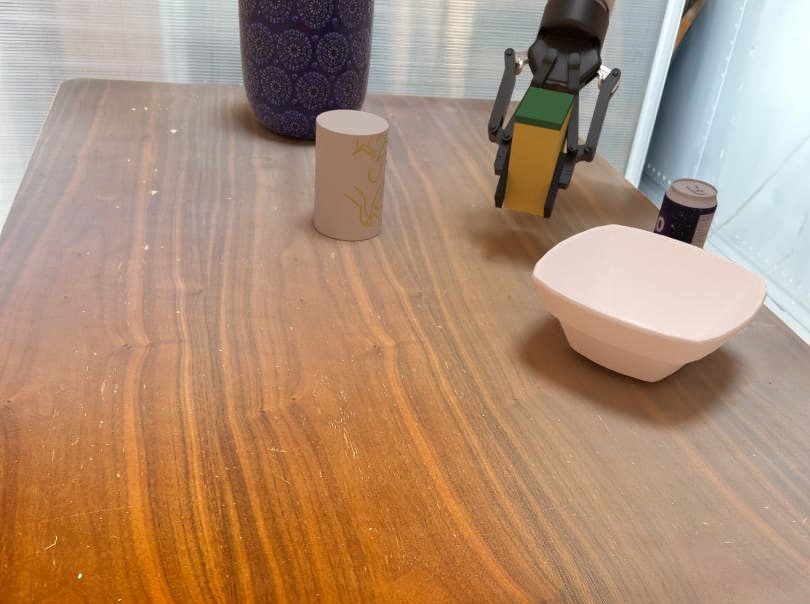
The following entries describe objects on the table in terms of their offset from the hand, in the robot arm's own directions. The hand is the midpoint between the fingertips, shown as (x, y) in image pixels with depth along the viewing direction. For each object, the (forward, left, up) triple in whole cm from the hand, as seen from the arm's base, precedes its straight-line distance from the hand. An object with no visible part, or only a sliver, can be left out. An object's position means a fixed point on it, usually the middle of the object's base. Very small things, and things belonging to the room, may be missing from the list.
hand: (522, 207), depth 99 cm
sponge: (-1, -5, -1) cm, 6 cm away
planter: (+32, -36, -7) cm, 49 cm away
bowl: (-13, +17, -7) cm, 23 cm away
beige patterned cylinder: (+20, -4, -7) cm, 22 cm away
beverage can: (-18, +2, -7) cm, 19 cm away
